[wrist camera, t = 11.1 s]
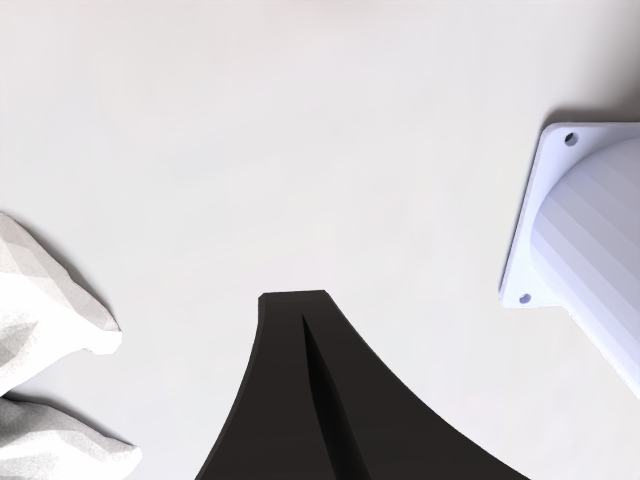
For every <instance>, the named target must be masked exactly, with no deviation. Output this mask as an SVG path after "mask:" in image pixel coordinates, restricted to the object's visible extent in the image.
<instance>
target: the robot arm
mask: <svg viewBox="0 0 640 480" xmlns="http://www.w3.org/2000/svg"><path fill="white" fill-rule="evenodd" d="M570 133H573V136H572V138H571V139H570V140H569V141H567V142H565V138H566V136H567V135H569V134H570ZM523 294H526V295H525V296H524V297H522V298H520V297H521V296H522V295H523ZM499 299H500V301H501V303H502V304H503V306H505V307H506V308H525V307H542V306H559V305H562V306H563V307H564V308H565V309H566V310H567V312H568V313H569V314H570V315H571V317H572V318H573V319H574V320H575V321H576V323H577V324H578V325H579V326H580V328H581V329H582V330H583V331H584V332H585V334H586V335H587V336H588V337H589V339H590V340H591V341H592V342H593V344H594V345H595V346H596V347H597V348H598V350H599V351H600V352H601V353H602V355H603V356H604V357H605V358H606V359H607V361H608V362H609V363H610V364H611V366H612V367H613V368H614V369H615V370H616V372H617V373H618V374H619V375H620V377H621V378H622V379H623V380H624V382H625V383H626V384H627V385H628V386H629V388H630V389H631V390H632V391H633V393H634V394H635V395H636V396H637V397H638V399H639V400H640V122H574V123H553V124H551V125H549V126H547V127H546V128H545V130H544V131H543V132H542V135H541V137H540V141H539V145H538V149H537V153H536V157H535V160H534V164H533V168H532V172H531V176H530V179H529V183H528V187H527V191H526V195H525V198H524V202H523V206H522V210H521V214H520V217H519V221H518V225H517V229H516V233H515V237H514V240H513V244H512V248H511V252H510V256H509V259H508V263H507V267H506V271H505V275H504V278H503V282H502V286H501V290H500V294H499ZM195 480H530V479H529V478H527V477H526V476H524V475H522V474H521V473H519V472H517V471H516V470H514V469H512V468H511V467H509V466H508V465H506V464H504V463H503V462H501V461H500V460H498V459H497V458H495V457H494V456H492V455H491V454H489V453H488V452H487V451H485V450H484V449H482V448H481V447H480V446H478V445H477V444H475V443H474V442H473V441H471V440H470V439H468V438H467V437H466V436H464V435H463V434H462V433H460V432H459V431H457V430H456V429H455V428H454V427H452V426H451V425H450V424H448V423H447V422H446V421H445V420H443V419H442V418H441V417H440V416H439V415H438V414H436V413H435V412H434V411H433V410H432V409H431V408H429V407H428V406H427V405H426V404H425V403H424V402H423V401H422V400H420V399H419V398H418V397H417V396H416V395H415V394H414V393H413V392H412V391H411V390H410V389H409V388H408V387H407V386H406V385H405V384H404V383H403V382H402V381H401V380H400V379H399V378H398V377H397V376H396V375H395V374H394V373H393V372H392V371H391V370H390V369H389V368H388V367H387V366H386V365H385V364H384V363H383V361H382V360H381V359H380V358H379V357H378V356H377V355H376V353H375V352H374V351H373V350H372V349H371V348H370V347H369V345H368V344H367V343H366V342H365V341H364V340H363V338H362V337H361V336H360V335H359V334H358V332H357V331H356V330H355V329H354V327H353V326H352V325H351V324H350V322H349V321H348V320H347V318H346V317H345V316H344V314H343V313H342V312H341V310H340V309H339V308H338V306H337V305H336V304H335V302H334V301H333V299H332V298H331V297H330V295H329V294H328V293H327V292H326V291H325V290H312V291H292V292H272V293H263V294H262V295H261V296H260V297H259V298H258V326H257V331H256V336H255V340H254V344H253V348H252V351H251V355H250V359H249V362H248V366H247V369H246V371H245V374H244V377H243V380H242V382H241V385H240V388H239V391H238V393H237V396H236V399H235V401H234V403H233V406H232V408H231V410H230V413H229V415H228V417H227V419H226V422H225V424H224V426H223V428H222V430H221V432H220V434H219V436H218V438H217V440H216V442H215V444H214V446H213V448H212V449H211V451H210V453H209V455H208V457H207V459H206V461H205V463H204V464H203V466H202V468H201V470H200V471H199V473H198V475H197V476H196V478H195Z"/></svg>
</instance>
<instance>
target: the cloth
mask: <svg viewBox="0 0 640 480" xmlns="http://www.w3.org/2000/svg"><path fill="white" fill-rule="evenodd" d="M121 335H122V332H121V331H120V330H119V328H118V325H117V323H116V322H115V320H114V319H113V317H112V316H111V314H110V313H109V311H108V310H107V309H106V308H105V307H104V306H103V305H102V304H100V303H99V302H98V301H97V300H96V299H95V298H94V297H92V296H91V295H90V294H89V293H88V292H87V291H85V290H84V289H83V288H82V287H81V286H79V285H78V284H77V283H75V282H74V281H72V280H71V278H70V276H69V274H68V273H67V271H66V269H64V268H63V267H62V266H61V265H60V264H59V263H58V262H57V261H56V260H54V259H53V258H52V257H51V256H50V255H49V254H48V253H47V252H46V251H45V250H44V249H43V248H42V247H41V246H40V245H39V244H38V243H37V242H36V241H35V239H34V238H33V237H32V236H31V235H30V234H29V233H28V232H27V231H26V230H25V229H24V228H22V227H21V226H20V225H19V224H17V223H16V222H15V221H14V220H13V219H11V218H10V217H8V216H6V215H4V214H2V213H0V480H121V479H123V478H124V477H125V476H127V475H128V474H130V472H131V471H132V470H133V469H134V467H135V466H136V465H137V463H138V462H139V461H140V459H141V458H142V454H141V451H140V447H139V446H136V445H128V444H125V443H123V442H121V441H118V440H116V439H113V438H108V437H104V436H103V435H101V434H100V433H98V432H97V431H95V430H94V429H92V428H90V427H89V426H87V425H85V424H83V423H82V422H80V421H78V420H77V419H75V418H73V417H71V416H69V415H67V414H65V413H63V412H61V411H58V410H56V409H54V408H52V407H49V406H47V405H42V404H36V403H30V402H12V401H9V400H7V399H5V398H2V397H1V396H2V395H4V394H5V393H6V392H8V391H9V390H10V389H12V388H13V387H15V386H17V385H19V384H20V383H22V382H24V381H26V380H27V379H29V378H30V377H32V376H34V375H35V374H37V373H38V372H40V371H41V370H43V369H44V368H46V367H47V366H49V365H50V364H52V363H53V362H55V361H56V360H57V359H59V358H60V357H62V356H64V355H66V354H68V353H71V352H74V351H76V350H79V349H84V350H87V351H90V352H93V353H95V354H97V355H98V356H99V355H100V354H109V353H113V352H114V351H115V349H116V348H117V347H118V345H119V344H120V343H121V341H122V338H121Z"/></svg>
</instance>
